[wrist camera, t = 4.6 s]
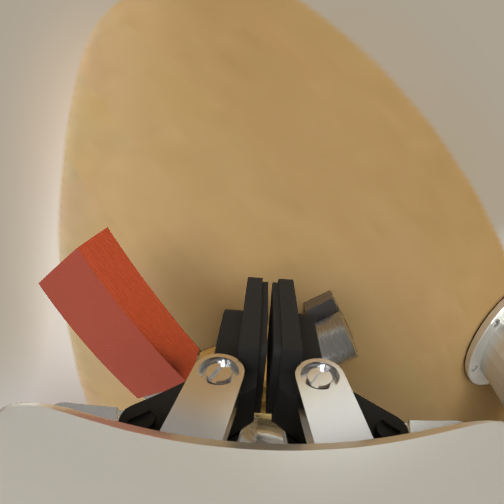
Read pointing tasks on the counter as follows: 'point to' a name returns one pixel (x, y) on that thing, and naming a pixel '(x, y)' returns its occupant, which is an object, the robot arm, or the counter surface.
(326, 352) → the valve body
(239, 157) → the counter surface
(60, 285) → the lever
